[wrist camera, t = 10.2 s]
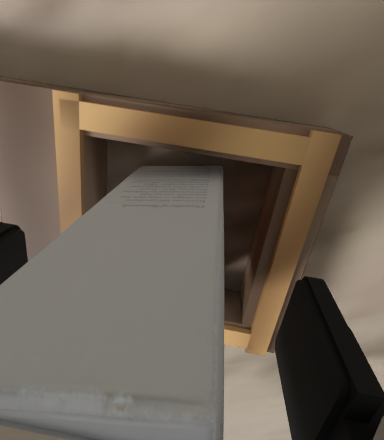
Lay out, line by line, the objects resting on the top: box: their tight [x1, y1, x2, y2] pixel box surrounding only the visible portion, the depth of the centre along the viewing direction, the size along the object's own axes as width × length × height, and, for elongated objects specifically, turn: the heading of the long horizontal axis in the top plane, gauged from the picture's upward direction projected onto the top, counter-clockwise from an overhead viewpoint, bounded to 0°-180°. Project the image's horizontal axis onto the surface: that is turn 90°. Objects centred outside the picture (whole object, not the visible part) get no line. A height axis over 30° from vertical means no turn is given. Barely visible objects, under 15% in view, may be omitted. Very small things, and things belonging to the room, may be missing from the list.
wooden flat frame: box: [0, 77, 353, 356], centre depth 14 cm, size 24×11×3 cm, turn 82°
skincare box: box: [0, 165, 224, 440], centre depth 10 cm, size 6×4×12 cm
